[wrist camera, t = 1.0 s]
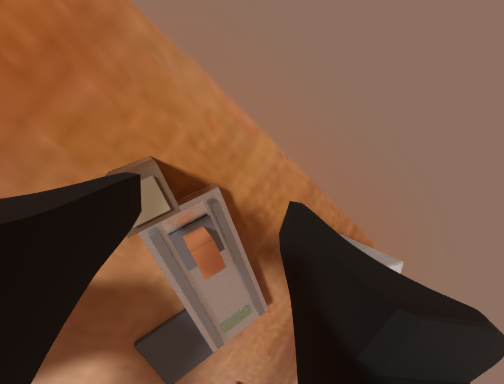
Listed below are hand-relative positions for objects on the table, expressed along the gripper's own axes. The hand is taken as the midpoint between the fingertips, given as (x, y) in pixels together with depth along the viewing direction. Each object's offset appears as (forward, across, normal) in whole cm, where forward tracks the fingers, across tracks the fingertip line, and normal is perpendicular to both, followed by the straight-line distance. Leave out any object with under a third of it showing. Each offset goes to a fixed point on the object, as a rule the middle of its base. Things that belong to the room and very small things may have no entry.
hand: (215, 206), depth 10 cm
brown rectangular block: (+9, +8, +4) cm, 12 cm away
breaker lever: (+7, +2, +9) cm, 11 cm away
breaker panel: (+9, 0, +14) cm, 16 cm away
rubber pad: (+5, +2, +22) cm, 23 cm away
